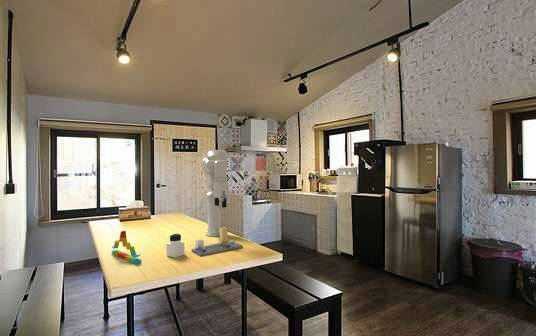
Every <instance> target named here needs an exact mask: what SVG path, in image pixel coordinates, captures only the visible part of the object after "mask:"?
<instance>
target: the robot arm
mask: <svg viewBox="0 0 536 336" xmlns="http://www.w3.org/2000/svg"><path fill="white" fill-rule="evenodd" d="M227 161H228V153H227V151H226V150H224V149H220V150H218V149H212V150H209V151H208V152H207V154H206V157H204V158H203V159H202V161H201V166H202V170H203V173H204V175H205V179H206V180H205V181H206V189H207V191H208V192H207V193H206V196H205V199H206V206H207V207H206V208H207V229H206V230H207V232H206V233H205V236H206V237H220V227H222V216H221V215H222V213H221V209H220V207H219V206H220V205H221V208H224V209H225V208H227V206H228V204H230V203H231V194H230V187H229V182H228V180H227V169H228V163H227Z"/></svg>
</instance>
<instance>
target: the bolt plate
mask: <svg viewBox="0 0 536 336" xmlns="http://www.w3.org/2000/svg"><path fill="white" fill-rule="evenodd" d="M243 247H244V246H243V244H240V243H238V242H235V240H232V239H231V240H229V246H228V244H226V243H220V242H216V243H211V244H205V241H204V240H203V239H196V240H195V247H194V248H192V249H191V252H192V253H193V254H195V255H196V256H199V257H204V256H209V255H215V254H218V253H219V254H220V253H224V252H229V251H234V250H238V249H243Z"/></svg>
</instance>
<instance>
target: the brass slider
mask: <svg viewBox="0 0 536 336" xmlns="http://www.w3.org/2000/svg"><path fill="white" fill-rule="evenodd" d="M228 236H229V235H228V227H226V226H221V227H220V236H219V238H218V241H217V243H226V244H228V246H229V241H230V238H228Z"/></svg>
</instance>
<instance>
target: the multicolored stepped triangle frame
mask: <svg viewBox="0 0 536 336" xmlns="http://www.w3.org/2000/svg"><path fill="white" fill-rule="evenodd" d="M120 243H121V245H122V247H123V248H126V250H129V252H130V254H129V253H127V252H123V251H121V250H118V248H119V246H120ZM111 248H112V249H113V250H111V254H112V255H114V256H117V257H118V258H121V259H123V260H125V261H128V262H130V263H132V264H134V265H138V264H141V263H142V259H141V258H139V257H140V256H141V254H137V253H136V252H137V251H136V248H135V246H134V245H133V246H132V245H131V242H128V239H127V232H126V230H121V231H120V235H119V239H117V240H114V245H113V246H111Z"/></svg>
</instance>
